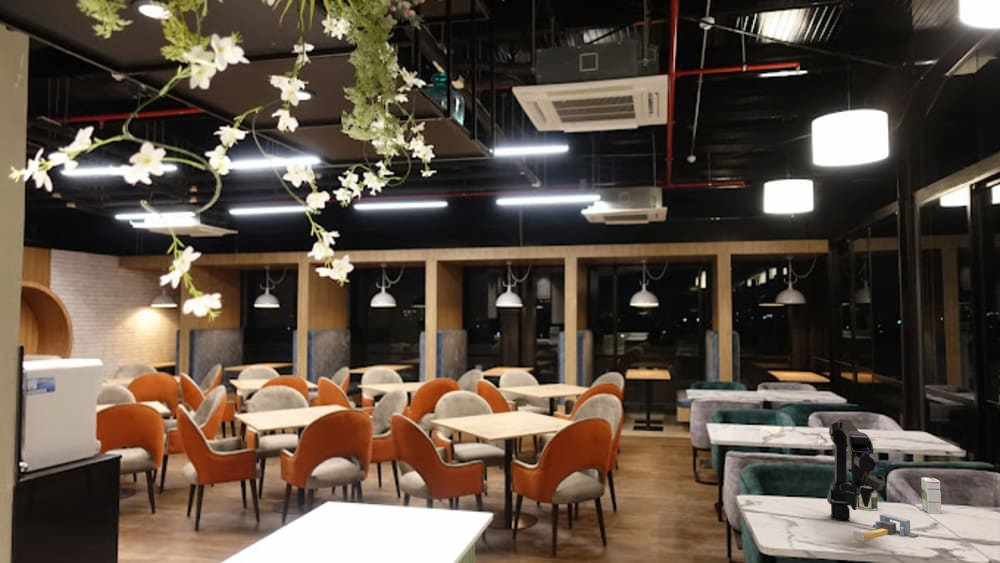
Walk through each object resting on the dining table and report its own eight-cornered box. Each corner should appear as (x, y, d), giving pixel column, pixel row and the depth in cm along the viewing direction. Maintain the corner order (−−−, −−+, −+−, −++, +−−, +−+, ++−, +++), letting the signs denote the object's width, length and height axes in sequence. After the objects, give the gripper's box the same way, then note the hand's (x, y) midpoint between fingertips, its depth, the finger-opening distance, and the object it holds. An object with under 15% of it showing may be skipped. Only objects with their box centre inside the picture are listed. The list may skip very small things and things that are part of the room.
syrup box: (941, 514, 290) (940, 480, 291) (927, 513, 291) (926, 479, 292) (936, 510, 296) (935, 477, 296) (921, 509, 297) (920, 477, 298)
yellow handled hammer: (863, 541, 250) (862, 531, 251) (853, 538, 254) (852, 528, 254) (896, 533, 261) (896, 523, 261) (886, 530, 265) (885, 520, 265)
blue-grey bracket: (909, 538, 255) (908, 524, 255) (868, 527, 269) (868, 513, 269) (918, 536, 258) (917, 522, 258) (877, 525, 272) (877, 511, 272)
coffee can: (869, 504, 304) (869, 473, 305) (882, 510, 294) (881, 478, 295) (847, 504, 304) (846, 473, 305) (859, 510, 294) (858, 478, 295)
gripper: (868, 473, 242) (870, 516, 241) (892, 468, 253) (894, 509, 252) (838, 467, 251) (839, 509, 250) (862, 463, 262) (864, 503, 261)
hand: (860, 508), depth 253 cm, fingers open, 9 cm apart
